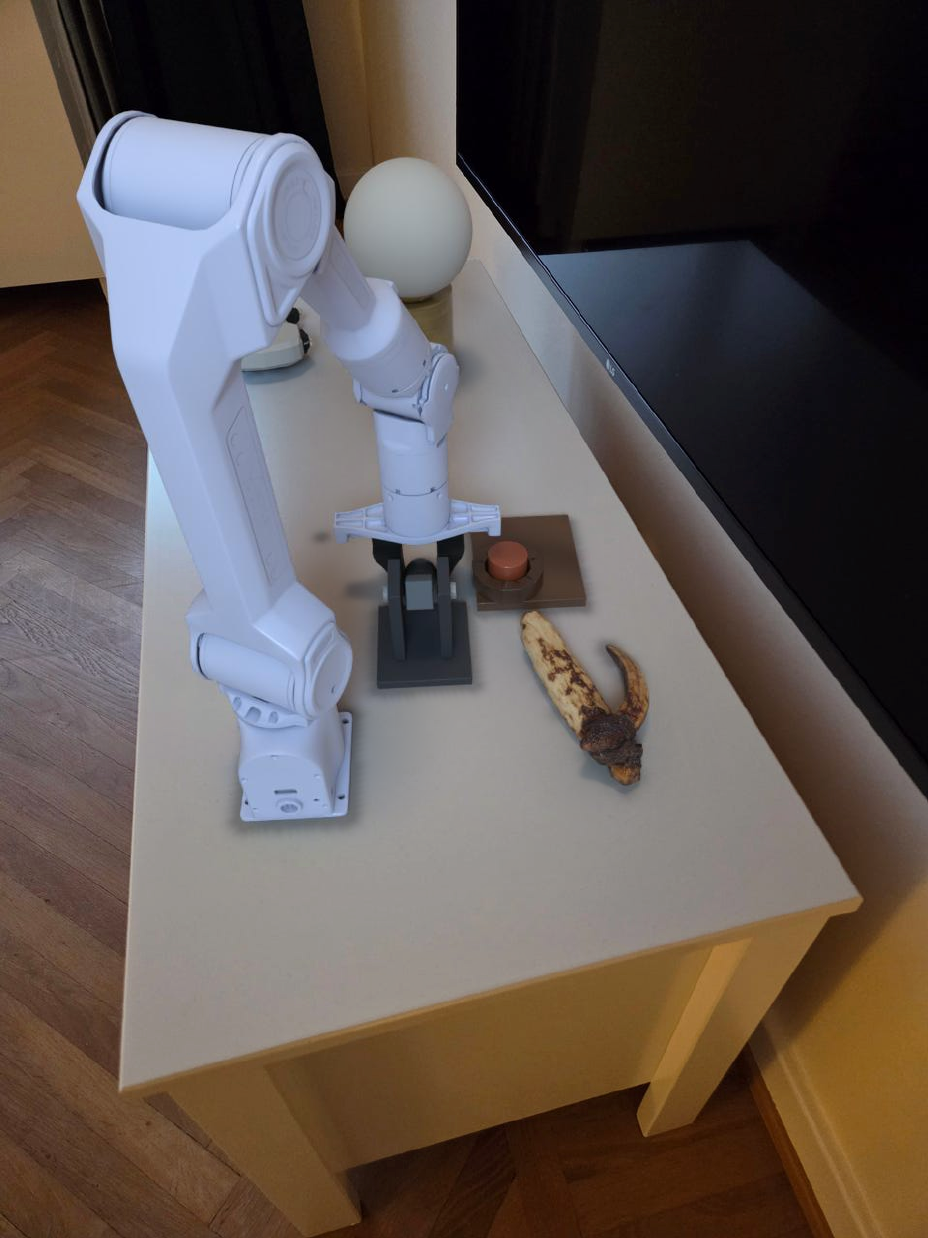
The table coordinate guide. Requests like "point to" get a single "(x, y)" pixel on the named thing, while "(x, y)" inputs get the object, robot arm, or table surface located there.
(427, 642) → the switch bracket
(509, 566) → the warm button
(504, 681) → the table surface
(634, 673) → the lashed bone hook
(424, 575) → the switch lever
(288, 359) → the robot toy
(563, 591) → the control block
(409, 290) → the lamp
